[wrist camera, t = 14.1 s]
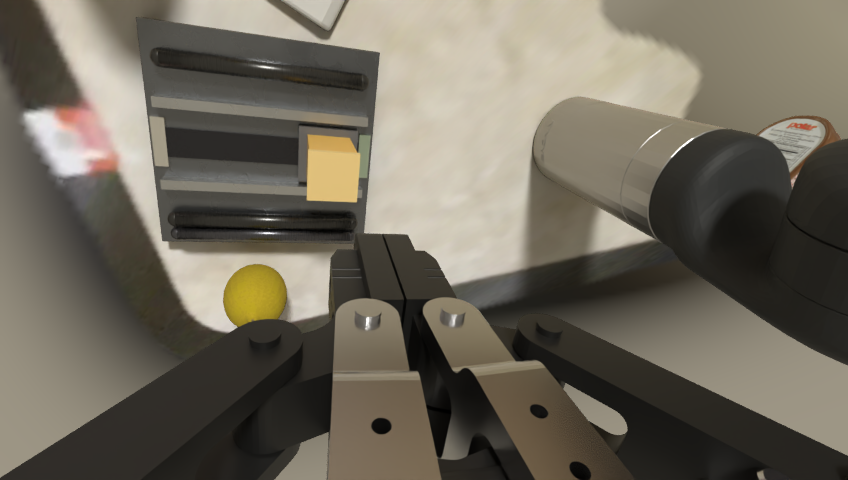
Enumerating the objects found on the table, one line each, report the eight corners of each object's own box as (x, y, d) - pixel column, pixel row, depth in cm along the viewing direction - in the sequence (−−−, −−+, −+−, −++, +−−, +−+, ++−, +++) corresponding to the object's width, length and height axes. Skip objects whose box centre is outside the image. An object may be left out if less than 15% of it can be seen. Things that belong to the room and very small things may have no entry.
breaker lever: (357, 130, 38) (369, 148, 32) (353, 181, 40) (363, 208, 34) (299, 124, 37) (299, 143, 31) (297, 178, 39) (298, 206, 32)
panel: (376, 52, 38) (382, 53, 35) (360, 237, 45) (364, 249, 42) (142, 17, 32) (129, 16, 30) (166, 234, 40) (158, 247, 37)
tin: (696, 212, 56) (756, 239, 49) (686, 198, 55) (746, 224, 47) (786, 122, 54) (863, 136, 46) (778, 105, 52) (857, 117, 45)
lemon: (282, 300, 46) (280, 349, 39) (226, 294, 44) (213, 344, 37) (292, 255, 44) (291, 297, 37) (233, 246, 42) (221, 289, 35)
